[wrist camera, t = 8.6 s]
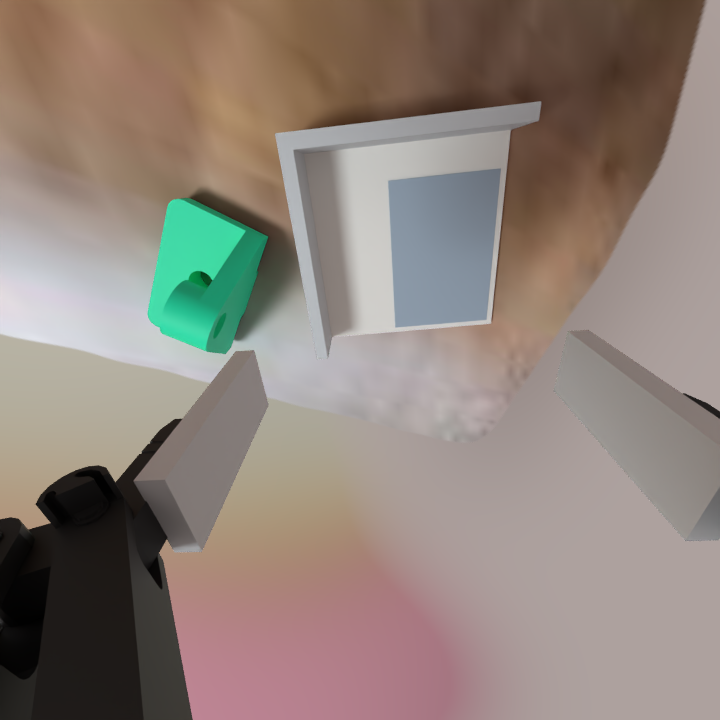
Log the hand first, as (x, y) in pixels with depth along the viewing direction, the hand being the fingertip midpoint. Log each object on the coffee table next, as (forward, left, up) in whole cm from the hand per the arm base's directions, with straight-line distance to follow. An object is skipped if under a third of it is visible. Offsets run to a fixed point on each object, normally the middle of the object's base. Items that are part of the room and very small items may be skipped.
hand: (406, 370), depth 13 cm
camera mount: (-16, 0, -20) cm, 26 cm away
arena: (+2, +1, -19) cm, 20 cm away
